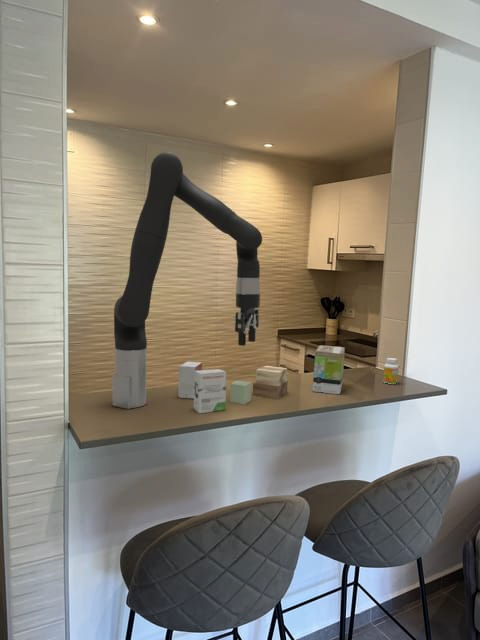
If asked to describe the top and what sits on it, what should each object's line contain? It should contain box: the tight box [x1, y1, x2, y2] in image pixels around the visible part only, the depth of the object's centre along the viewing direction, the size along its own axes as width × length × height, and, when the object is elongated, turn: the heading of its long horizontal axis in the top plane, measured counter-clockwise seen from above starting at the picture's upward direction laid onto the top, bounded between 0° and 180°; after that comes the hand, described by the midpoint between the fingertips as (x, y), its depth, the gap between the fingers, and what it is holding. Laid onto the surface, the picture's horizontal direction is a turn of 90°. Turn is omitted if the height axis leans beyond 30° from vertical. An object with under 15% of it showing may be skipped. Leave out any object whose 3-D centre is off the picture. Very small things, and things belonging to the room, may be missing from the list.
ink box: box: [193, 368, 227, 414], centre depth 134 cm, size 9×5×12 cm, turn 116°
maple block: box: [255, 365, 288, 386], centre depth 153 cm, size 8×8×4 cm
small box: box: [178, 361, 203, 400], centre depth 149 cm, size 8×6×10 cm
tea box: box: [311, 344, 346, 395], centre depth 164 cm, size 15×10×15 cm
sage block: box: [229, 379, 252, 405], centre depth 144 cm, size 5×5×6 cm
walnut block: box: [252, 380, 288, 400], centre depth 154 cm, size 9×9×4 cm
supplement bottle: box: [382, 357, 399, 385], centre depth 175 cm, size 5×5×10 cm
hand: (246, 343), depth 143 cm, fingers open, 8 cm apart
